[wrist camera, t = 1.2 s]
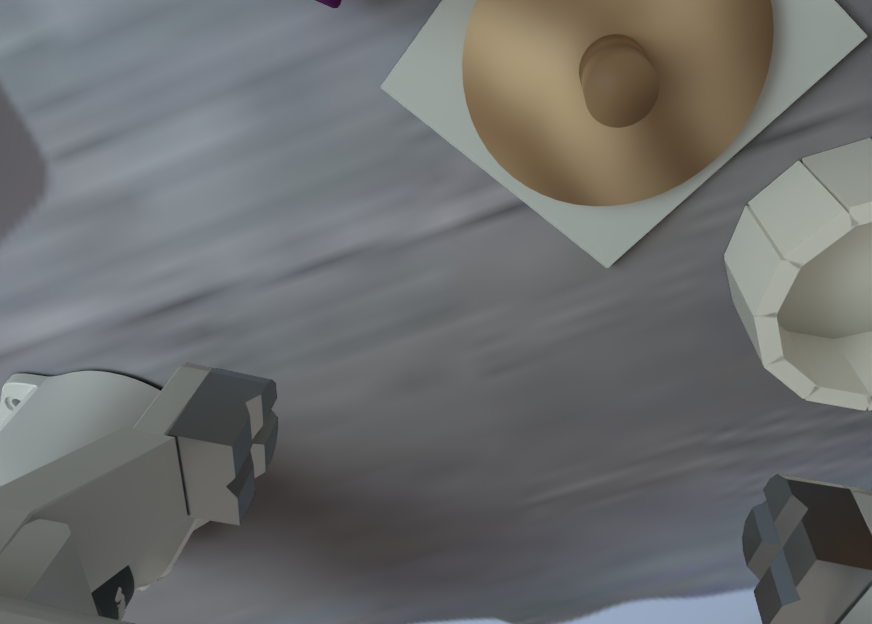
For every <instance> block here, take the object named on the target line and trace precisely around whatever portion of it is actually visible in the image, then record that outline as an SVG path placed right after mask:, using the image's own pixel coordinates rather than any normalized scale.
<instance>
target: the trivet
mask: <svg viewBox="0 0 872 624" xmlns="http://www.w3.org/2000/svg"><path fill="white" fill-rule="evenodd" d="M475 2H476V0H442V1H441V2H440V4H439V5H438V7H437V8H436V9H435V11H434V12H433V14H432V15H431V16H430V18H429V19H428V21H427V22H426V23H425V25H424V26H423V28H422V29H421V30H420V32H419V33H418V35H417V36H416V38H415V39H414V40H413V42H412V43H411V45H410V46H409V47H408V49H407V50H406V52H405V53H404V54H403V56H402V57H401V59H400V60H399V61H398V63H397V64H396V66H395V67H394V68H393V70H392V71H391V73H390V74H389V75H388V77H387V78H386V80H385V81H384V82H383V84H382V85H381V88H382V89H383V90H384V91H386V92H387V93H388V94H389V95H391V96H392V97H393V98H394V99H396V100H397V101H398V102H399V103H401V104H402V105H403V106H404V107H406V108H407V109H408V110H409V111H411V112H412V113H413V114H414V115H416V116H417V117H418V118H419V119H421V120H422V121H423V122H424V123H426V124H427V125H428V126H429V127H431V128H432V129H433V130H434V131H436V132H437V133H438V134H439V135H441V136H442V137H443V138H444V139H446V140H447V141H448V142H449V143H451V144H452V145H453V146H454V147H456V148H457V149H458V150H459V151H461V152H462V153H463V154H464V155H466V156H467V157H468V158H469V159H471V160H472V161H473V162H474V163H476V164H477V165H478V166H479V167H481V168H482V169H483V170H484V171H486V172H487V173H488V174H490V175H491V176H492V177H493V178H495V179H496V180H497V181H498V182H500V183H501V184H502V185H503V186H505V187H506V188H507V189H508V190H510V191H511V192H512V193H513V194H515V195H516V196H517V197H518V198H520V199H521V200H522V201H523V202H525V203H526V204H527V205H528V206H530V207H531V208H532V209H533V210H535V211H536V212H537V213H538V214H540V215H541V216H542V217H543V218H545V219H546V220H547V221H548V222H550V223H551V224H552V225H553V226H555V227H556V228H557V229H558V230H560V231H561V232H562V233H563V234H565V235H566V236H567V237H568V238H570V239H571V240H572V241H573V242H575V243H576V244H577V245H578V246H580V247H581V248H582V249H583V250H585V251H586V252H587V253H588V254H590V255H591V256H592V257H593V258H595V259H596V260H597V261H599V262H600V263H601V264H602V265H604V266H605V267H606V268H608V267H609V266H611V265H612V264H613V263H614V262H615V261H616V260H617V259H618V258H620V257H621V256H622V255H623V254H624V253H625V252H626V251H627V250H629V249H630V248H631V247H632V246H633V245H634V244H635V243H636V242H638V241H639V240H640V239H641V238H642V237H643V236H644V235H645V234H646V233H648V232H649V231H650V230H651V229H652V228H653V227H654V226H655V225H657V224H658V223H659V222H660V221H661V220H662V219H663V218H664V217H666V216H667V215H668V214H669V213H670V212H671V211H672V210H673V209H675V208H676V207H677V206H678V205H679V204H680V203H681V202H682V201H683V200H685V199H686V198H687V197H688V196H689V195H690V194H691V193H692V192H694V191H695V190H696V189H697V188H698V187H699V186H700V185H701V184H703V183H704V182H705V181H706V180H707V179H708V178H709V177H710V176H712V175H713V174H714V173H715V172H716V171H717V170H718V169H719V168H721V167H722V166H723V165H724V164H725V163H726V162H727V161H728V160H729V159H731V158H732V157H733V156H734V155H735V154H736V153H737V152H738V151H740V150H741V149H742V148H743V147H744V146H745V145H746V144H747V143H749V142H750V141H751V140H752V139H753V138H754V137H755V136H756V135H758V134H759V133H760V132H761V131H762V130H763V129H764V128H765V127H766V126H768V125H769V124H770V123H771V122H772V121H773V120H774V119H775V118H777V117H778V116H779V115H780V114H781V113H782V112H783V111H784V110H786V109H787V108H788V107H789V106H790V105H791V104H792V103H793V102H795V101H796V100H797V99H798V98H799V97H800V96H801V95H802V94H803V93H805V92H806V91H807V90H808V89H809V88H810V87H811V86H812V85H814V84H815V83H816V82H817V81H818V80H819V79H820V78H821V77H823V76H824V75H825V74H826V73H827V72H828V71H829V70H830V69H832V68H833V67H834V66H835V65H836V64H837V63H838V62H839V61H841V60H842V59H843V58H844V57H845V56H846V55H847V54H848V53H849V52H851V51H852V50H853V49H854V48H855V47H856V46H857V45H858V44H860V43H861V42H862V41H863V40H864V39H865V38H866V37H867V35H866V34H865V33H864V31H863V30H862V29H861V28H860V27H859V26H858V25H857V24H856V23H855V22H854V21H853V20H852V19H851V17H850V16H849V15H848V14H847V13H846V12H845V11H844V10H843V9H842V8H841V7H840V6H839V4H838V3H837V2H836V1H835V0H771V5H772V11H773V26H774V34H773V48H772V55H771V60H770V65H769V70H768V74H767V77H766V80H765V83H764V86H763V89H762V92H761V94H760V96H759V99H758V101H757V103H756V105H755V107H754V109H753V111H752V113H751V115H750V116H749V118H748V119H747V121H746V123H745V124H744V126H743V127H742V129H741V130H740V132H739V133H738V134H737V135H736V137H735V138H734V139H733V141H732V142H731V143H730V144H729V146H728V147H727V148H726V149H725V150H724V151H723V152H722V153H721V154H720V155H719V156H718V157H717V158H716V159H715V160H714V161H713V162H711V163H710V164H709V165H708V166H706V167H705V168H704V169H703V170H702V171H700V172H699V173H698V174H696V175H695V176H693V177H692V178H690V179H688V180H687V181H685V182H684V183H682V184H681V185H679V186H677V187H675V188H673V189H671V190H669V191H667V192H665V193H662V194H659V195H657V196H654V197H651V198H648V199H645V200H641V201H637V202H633V203H629V204H623V205H615V206H584V205H575V204H571V203H566V202H562V201H558V200H555V199H552V198H550V197H547V196H544V195H542V194H540V193H538V192H536V191H534V190H532V189H530V188H528V187H526V186H525V185H523V184H522V183H521V182H519V181H518V180H516V179H515V178H513V177H512V176H511V175H510V174H509V173H508V172H507V171H506V170H505V169H503V168H502V167H501V166H500V165H499V164H498V162H497V161H496V160H495V159H494V158H493V156H492V155H491V154H490V153H489V152H488V150H487V148H486V147H485V145H484V144H483V142H482V140H481V139H480V137H479V135H478V133H477V131H476V129H475V127H474V124H473V122H472V120H471V117H470V113H469V110H468V107H467V104H466V99H465V93H464V87H463V73H462V60H463V48H464V41H465V36H466V31H467V27H468V22H469V20H470V17H471V14H472V11H473V8H474V5H475Z"/></svg>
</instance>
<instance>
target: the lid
mask: <svg viewBox="0 0 872 624" xmlns="http://www.w3.org/2000/svg"><path fill="white" fill-rule="evenodd" d="M773 34H774V26H773V11H772V5H771V0H476V2H475V5H474V8H473V11H472V14H471V17H470V20H469V22H468V27H467V31H466V36H465V41H464V48H463V60H462V73H463V87H464V93H465V99H466V104H467V107H468V110H469V113H470V117H471V120H472V122H473V124H474V127H475V129H476V131H477V133H478V135H479V137H480V139H481V140H482V142H483V144H484V145H485V147H486V148H487V150H488V152H489V153H490V154H491V155H492V156H493V158H494V159H495V160H496V161H497V162H498V164H499V165H500V166H501V167H502V168H503V169H505V170H506V171H507V172H508V173H509V174H510V175H511V176H512V177H513V178H515V179H516V180H518V181H519V182H521V183H522V184H523V185H525V186H526V187H528V188H530V189H532V190H534V191H536V192H538V193H540V194H542V195H544V196H547V197H550V198H552V199H555V200H558V201H562V202H566V203H571V204H575V205H584V206H615V205H623V204H629V203H633V202H637V201H641V200H645V199H648V198H651V197H654V196H657V195H659V194H662V193H665V192H667V191H669V190H671V189H673V188H675V187H677V186H679V185H681V184H682V183H684V182H685V181H687V180H688V179H690V178H692V177H693V176H695V175H696V174H698V173H699V172H700V171H702V170H703V169H704V168H705V167H706V166H708V165H709V164H710V163H711V162H713V161H714V160H715V159H716V158H717V157H718V156H719V155H720V154H721V153H722V152H723V151H724V150H725V149H726V148H727V147H728V146H729V144H730V143H731V142H732V141H733V139H734V138H735V137H736V135H737V134H738V133H739V132H740V130H741V129H742V127H743V126H744V124H745V123H746V121H747V119H748V118H749V116H750V115H751V113H752V111H753V109H754V107H755V105H756V103H757V101H758V99H759V96H760V94H761V92H762V89H763V86H764V83H765V80H766V77H767V74H768V70H769V65H770V60H771V55H772V48H773Z"/></svg>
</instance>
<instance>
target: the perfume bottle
mask: <svg viewBox="0 0 872 624" xmlns="http://www.w3.org/2000/svg"><path fill="white" fill-rule="evenodd" d="M316 1H318V2H321V3H323V4H325V5H327V6H330V7H332V8H338V7H339V5H340V4H341V0H316Z"/></svg>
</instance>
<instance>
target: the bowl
mask: <svg viewBox="0 0 872 624" xmlns="http://www.w3.org/2000/svg"><path fill="white" fill-rule="evenodd" d="M802 163H803V164H802ZM802 163H801V162H800V161H799V160H798V161H797V162H796V163H795V164H793V165H792V166H791V167H790V168H789V169H787V170H786V171H785V172H784V173H783V174H781V175H780V176H779V177H778V178H777V179H775V180H774V181H773V182H772V183H771V184H770V185H768V186H767V187H766V188H765V189H764V190H762V191H761V192H760V193H759V194H758V195H756V196H755V197H754V198H753V199H752V200H750V201H749V202H748V204H749V206H747V205H746V206H745V208H744V211H743V213H742V215H741V217H740V220H739V222H738V224H737V227H736V229H735V231H734V234H733V236H732V238H731V241H730V243H729V245H728V247H727V250H726V252H725V254H724V256H725V258H724V262H725V266H726V271H727V276H728V281H729V286H730V291H731V295H732V300H733V303H734V305H735V308H736V310H737V312H738V314H739V316H740V318H741V320H742V322H743V324H744V326H745V329H746V331H747V333H748V335H749V337H750V339H751V341H752V343H753V345H754V347H755V349H756V352H757V354H758V356H759V358H760V360H761V362H762V364H763V366H764V368H766V369H767V370H768V371H769V372H771V373H772V374H773V375H774V376H775V377H777V378H778V379H779V380H780V381H782V382H783V383H784V384H785V385H786V386H788V387H789V388H790V389H791V390H793V391H794V392H795V393H796V394H798V395H799V396H800V397H801V398H802V399H806V400H807V401H812V402H818V403H824V404H829V405H835V406H841V407H847V408H852V409H858V410H864V411H865V410H866V409H868V411H870V410H872V139H871V138H867V139H864V140H860V141H857V142H854V143H851V144H847V145H844V146H841V147H837V148H834V149H831V150H828V151H824V152H821V153H818V154H814V155H811V156H808V157H804V158H802Z"/></svg>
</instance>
